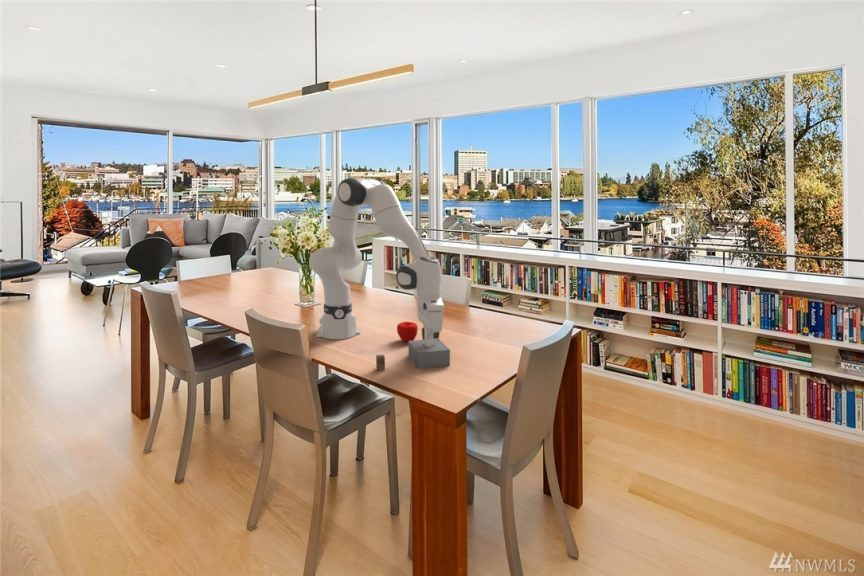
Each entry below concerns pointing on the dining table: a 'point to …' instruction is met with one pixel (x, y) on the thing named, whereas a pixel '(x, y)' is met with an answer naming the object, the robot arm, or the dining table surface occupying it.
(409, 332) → the apple
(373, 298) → the dining table surface
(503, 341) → the dining table surface
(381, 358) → the short pin
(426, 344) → the tall pin
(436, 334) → the small green plant
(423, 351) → the hole block
